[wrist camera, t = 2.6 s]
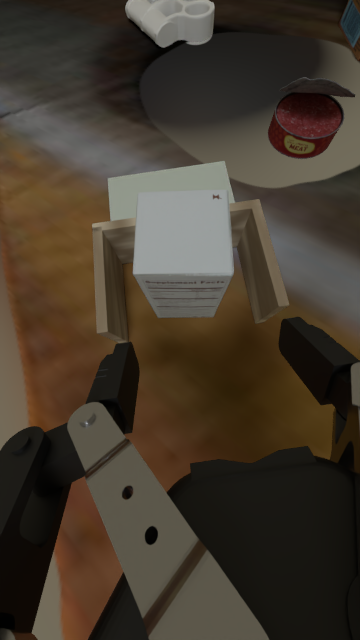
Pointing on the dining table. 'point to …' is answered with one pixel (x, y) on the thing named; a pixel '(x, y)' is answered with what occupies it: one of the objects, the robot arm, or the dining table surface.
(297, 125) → the canned food
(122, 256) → the box
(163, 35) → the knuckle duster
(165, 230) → the supplement box
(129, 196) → the mat
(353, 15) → the milk carton
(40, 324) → the dining table surface
